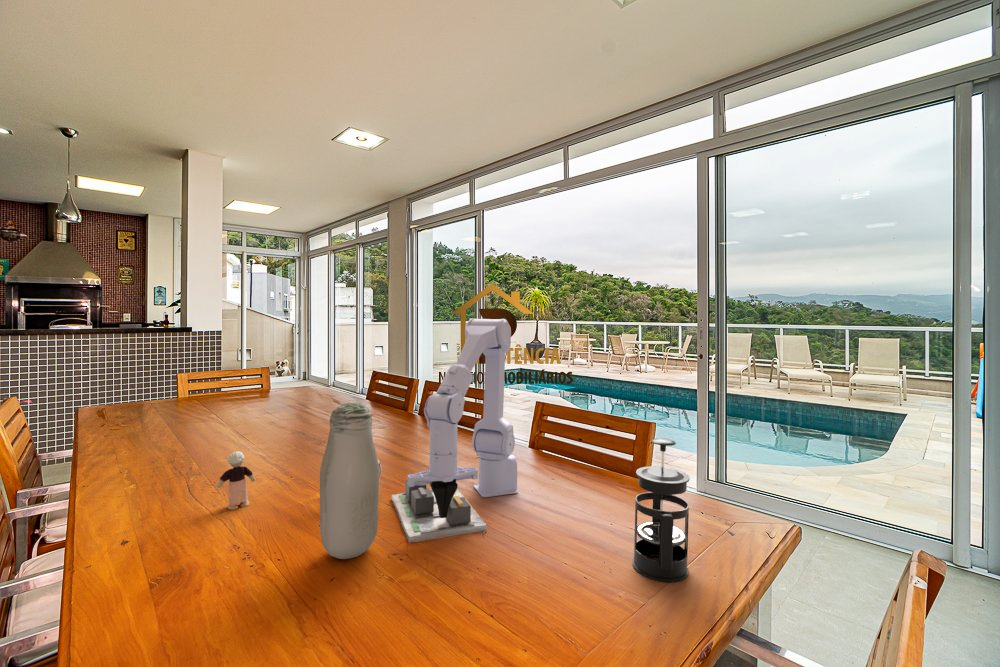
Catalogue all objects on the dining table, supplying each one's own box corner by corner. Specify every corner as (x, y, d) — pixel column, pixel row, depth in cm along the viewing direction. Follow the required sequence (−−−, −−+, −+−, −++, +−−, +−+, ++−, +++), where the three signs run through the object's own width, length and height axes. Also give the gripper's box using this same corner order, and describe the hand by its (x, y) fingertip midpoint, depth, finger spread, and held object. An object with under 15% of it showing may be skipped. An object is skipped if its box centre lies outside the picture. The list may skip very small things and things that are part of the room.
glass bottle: (346, 574, 80) (347, 411, 79) (309, 557, 85) (309, 404, 84) (389, 550, 88) (390, 402, 87) (352, 536, 94) (352, 397, 93)
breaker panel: (455, 491, 118) (455, 485, 118) (486, 530, 97) (486, 523, 97) (391, 499, 113) (391, 493, 113) (408, 542, 91) (408, 535, 91)
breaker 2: (428, 503, 107) (428, 485, 107) (433, 512, 102) (433, 493, 102) (411, 506, 105) (411, 488, 105) (415, 514, 101) (415, 496, 100)
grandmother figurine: (249, 499, 112) (248, 446, 111) (257, 503, 109) (257, 449, 109) (214, 510, 105) (213, 454, 105) (222, 514, 103) (222, 457, 103)
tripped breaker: (463, 512, 102) (463, 494, 102) (470, 522, 97) (470, 503, 97) (445, 515, 100) (445, 496, 100) (451, 525, 96) (452, 505, 96)
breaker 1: (421, 492, 114) (422, 475, 114) (426, 499, 109) (426, 482, 109) (405, 494, 112) (405, 477, 112) (409, 501, 108) (409, 484, 107)
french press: (629, 550, 89) (632, 431, 89) (681, 555, 88) (684, 433, 87) (636, 584, 78) (639, 447, 77) (696, 591, 76) (700, 451, 75)
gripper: (412, 460, 91) (411, 529, 91) (482, 453, 96) (482, 518, 97) (405, 450, 97) (405, 514, 98) (472, 444, 103) (471, 505, 103)
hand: (442, 516), depth 98 cm, fingers closed
